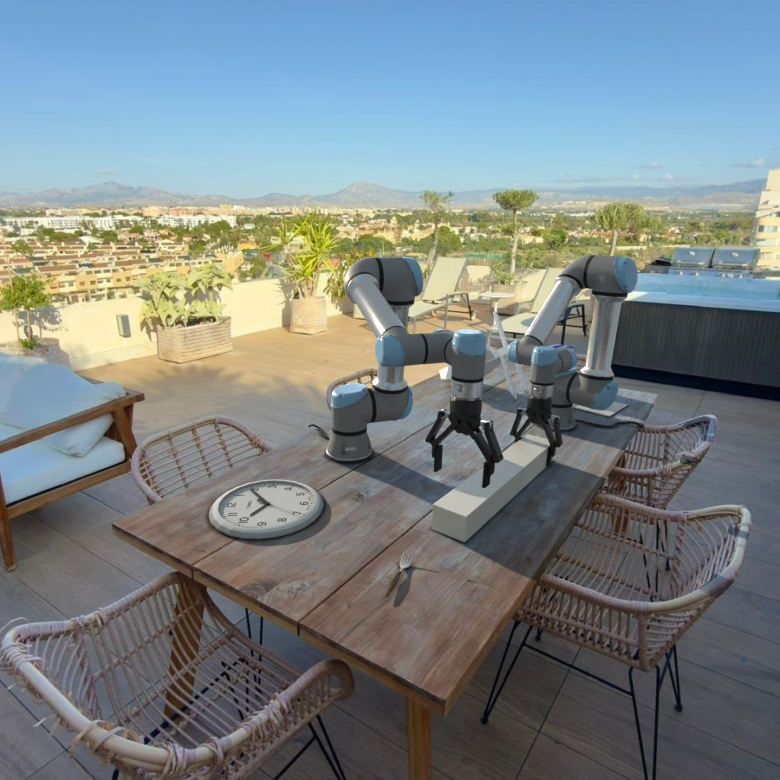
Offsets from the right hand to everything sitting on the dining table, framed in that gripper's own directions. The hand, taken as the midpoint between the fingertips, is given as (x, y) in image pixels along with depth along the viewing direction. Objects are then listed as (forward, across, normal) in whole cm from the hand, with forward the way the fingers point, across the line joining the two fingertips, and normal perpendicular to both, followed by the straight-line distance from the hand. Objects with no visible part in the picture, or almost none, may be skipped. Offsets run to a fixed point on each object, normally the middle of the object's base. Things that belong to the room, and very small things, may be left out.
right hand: (533, 460), depth 171 cm
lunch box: (0, -25, +85) cm, 88 cm away
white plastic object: (0, -49, +57) cm, 75 cm away
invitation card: (0, +1, +72) cm, 72 cm away
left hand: (-13, 0, -50) cm, 51 cm away
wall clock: (0, -45, -73) cm, 86 cm away
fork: (+1, 0, -75) cm, 75 cm away
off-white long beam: (0, 0, -25) cm, 25 cm away
